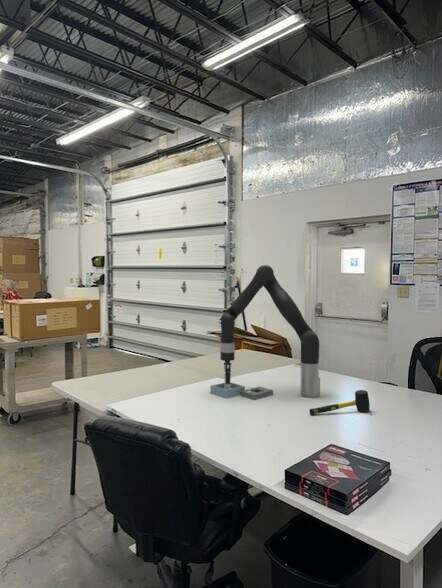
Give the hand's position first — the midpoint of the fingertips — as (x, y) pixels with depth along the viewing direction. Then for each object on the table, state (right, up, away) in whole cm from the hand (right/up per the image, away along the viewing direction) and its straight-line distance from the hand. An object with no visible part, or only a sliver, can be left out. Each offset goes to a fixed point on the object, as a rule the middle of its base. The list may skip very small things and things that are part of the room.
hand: (227, 381), depth 219 cm
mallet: (+51, -8, -32) cm, 60 cm away
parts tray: (0, -6, 0) cm, 6 cm away
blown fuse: (0, -5, 0) cm, 5 cm away
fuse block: (+15, -6, -4) cm, 17 cm away
